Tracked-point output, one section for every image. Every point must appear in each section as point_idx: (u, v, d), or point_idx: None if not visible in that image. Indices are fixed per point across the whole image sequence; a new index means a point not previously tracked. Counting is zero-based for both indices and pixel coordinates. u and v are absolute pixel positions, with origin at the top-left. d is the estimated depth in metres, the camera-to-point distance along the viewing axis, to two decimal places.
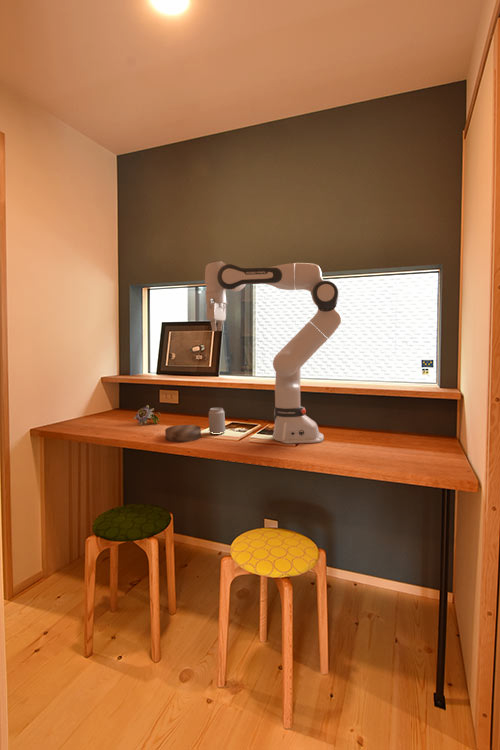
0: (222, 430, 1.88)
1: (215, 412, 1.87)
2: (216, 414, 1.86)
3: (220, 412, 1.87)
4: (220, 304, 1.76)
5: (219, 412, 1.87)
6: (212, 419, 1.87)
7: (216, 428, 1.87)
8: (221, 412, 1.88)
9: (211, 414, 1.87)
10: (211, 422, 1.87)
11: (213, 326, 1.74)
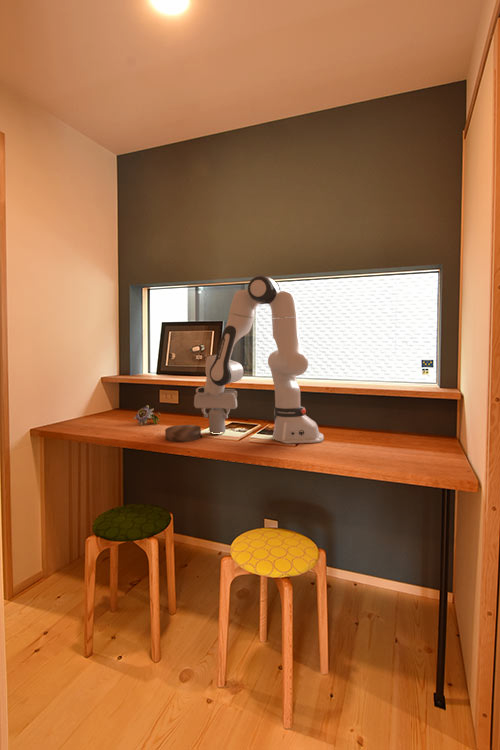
0: (222, 430, 1.88)
1: (215, 412, 1.87)
2: (216, 414, 1.86)
3: (220, 412, 1.87)
4: None
5: (219, 412, 1.87)
6: (212, 419, 1.87)
7: (216, 428, 1.87)
8: (221, 412, 1.88)
9: (211, 414, 1.87)
10: (211, 422, 1.87)
11: (227, 413, 1.89)
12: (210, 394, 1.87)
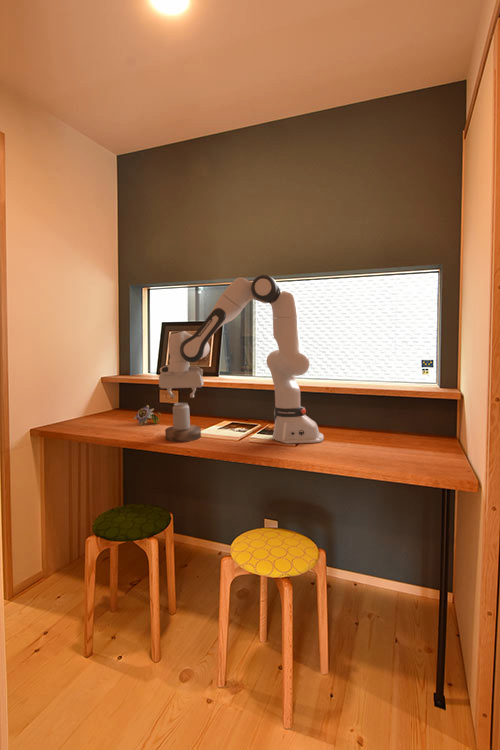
0: (186, 426, 1.81)
1: (178, 407, 1.80)
2: (179, 409, 1.79)
3: (183, 407, 1.80)
4: None
5: (182, 407, 1.80)
6: (175, 415, 1.80)
7: (179, 424, 1.80)
8: (184, 407, 1.80)
9: (174, 409, 1.80)
10: (174, 417, 1.81)
11: (193, 392, 1.82)
12: (174, 373, 1.80)
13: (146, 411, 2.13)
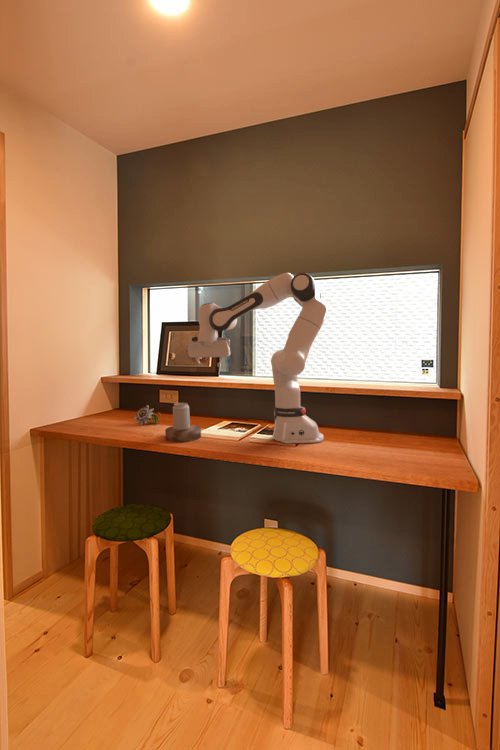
0: (186, 426, 1.81)
1: (178, 407, 1.80)
2: (179, 409, 1.79)
3: (183, 407, 1.80)
4: None
5: (182, 407, 1.80)
6: (175, 415, 1.80)
7: (179, 424, 1.80)
8: (184, 407, 1.80)
9: (174, 409, 1.80)
10: (174, 417, 1.81)
11: (221, 362, 1.93)
12: (203, 343, 1.91)
13: (146, 411, 2.13)
